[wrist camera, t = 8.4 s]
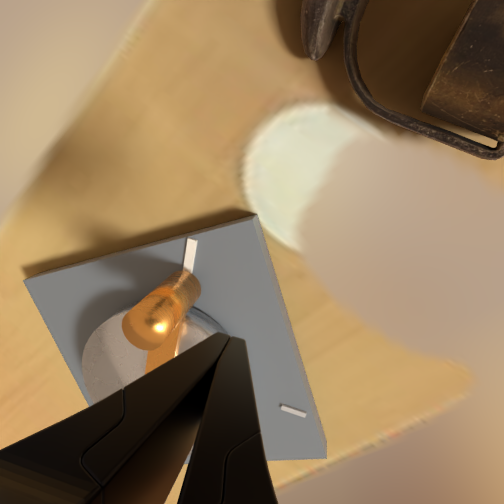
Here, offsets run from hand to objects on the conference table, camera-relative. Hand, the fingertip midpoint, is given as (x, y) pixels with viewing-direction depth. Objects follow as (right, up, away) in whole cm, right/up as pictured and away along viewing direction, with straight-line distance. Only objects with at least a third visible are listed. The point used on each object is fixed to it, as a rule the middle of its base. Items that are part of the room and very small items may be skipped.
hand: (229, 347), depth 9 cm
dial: (-5, -5, +15) cm, 16 cm away
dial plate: (-5, -6, +17) cm, 18 cm away
